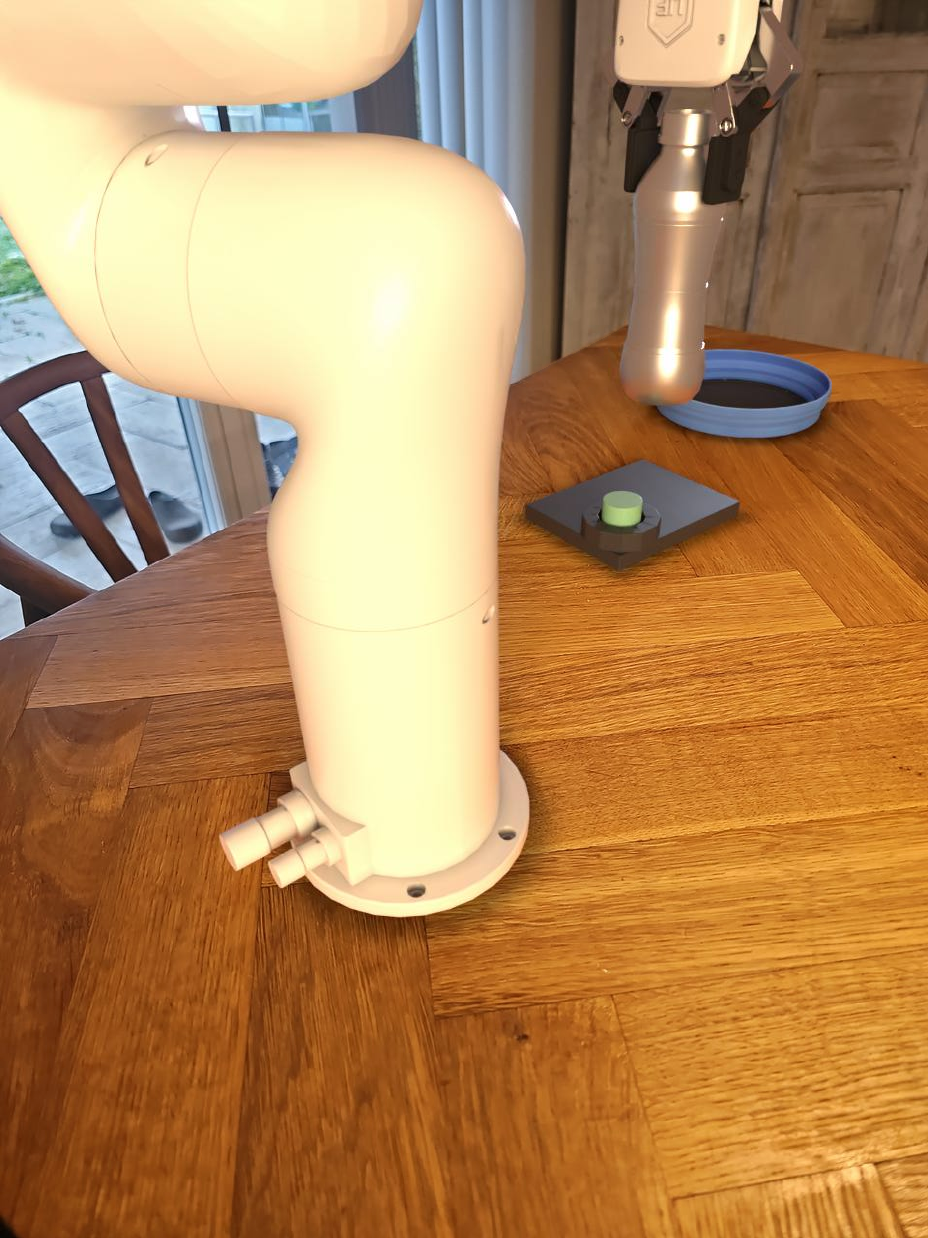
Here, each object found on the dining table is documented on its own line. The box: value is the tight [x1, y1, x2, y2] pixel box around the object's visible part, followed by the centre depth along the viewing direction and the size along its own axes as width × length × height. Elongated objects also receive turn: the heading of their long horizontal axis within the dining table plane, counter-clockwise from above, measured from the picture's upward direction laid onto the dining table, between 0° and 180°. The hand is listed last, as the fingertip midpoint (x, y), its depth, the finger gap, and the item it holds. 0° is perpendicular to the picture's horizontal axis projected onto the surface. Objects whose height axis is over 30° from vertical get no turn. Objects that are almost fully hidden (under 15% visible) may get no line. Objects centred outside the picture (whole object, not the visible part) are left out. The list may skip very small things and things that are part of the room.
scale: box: [525, 458, 741, 572], centre depth 70 cm, size 14×11×3 cm
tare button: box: [602, 491, 643, 527], centre depth 65 cm, size 3×3×2 cm
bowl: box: [656, 348, 833, 439], centre depth 89 cm, size 18×18×4 cm
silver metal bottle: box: [618, 108, 728, 407], centre depth 62 cm, size 6×7×20 cm
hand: (680, 193), depth 59 cm, fingers closed on silver metal bottle, 6 cm apart
